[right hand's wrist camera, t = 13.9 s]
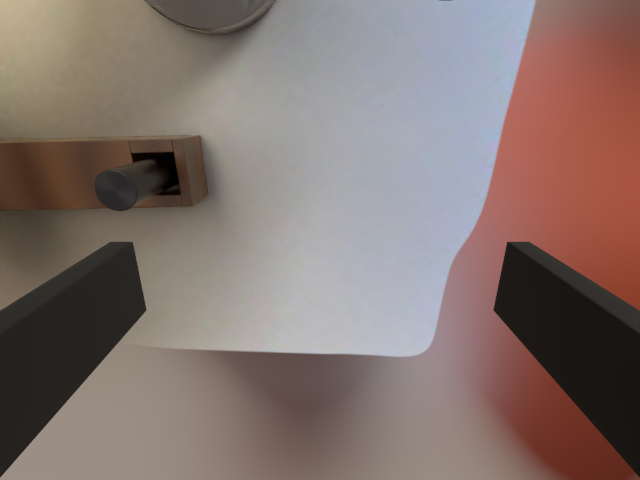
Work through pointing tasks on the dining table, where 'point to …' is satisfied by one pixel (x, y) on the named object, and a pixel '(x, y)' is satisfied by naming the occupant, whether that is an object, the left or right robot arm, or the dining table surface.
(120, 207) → the peg
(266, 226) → the dining table surface
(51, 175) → the peg rail
